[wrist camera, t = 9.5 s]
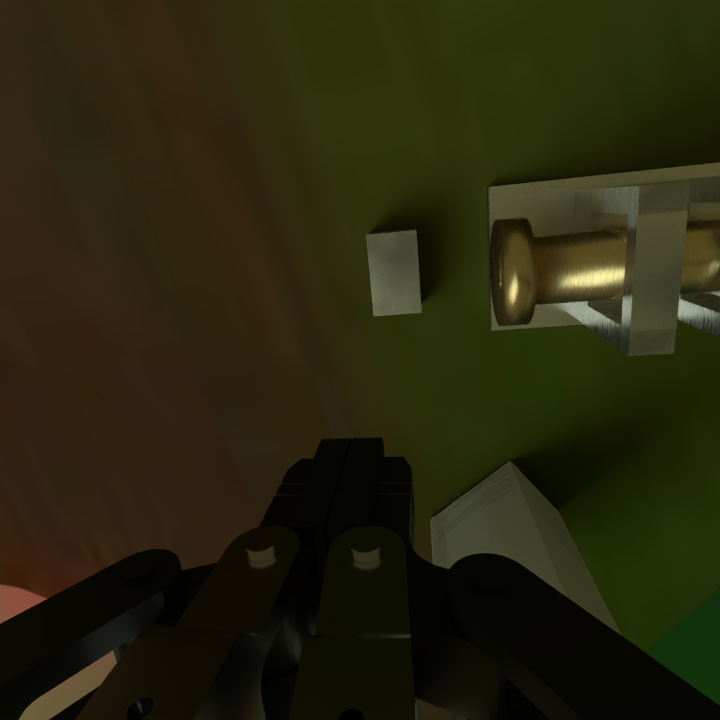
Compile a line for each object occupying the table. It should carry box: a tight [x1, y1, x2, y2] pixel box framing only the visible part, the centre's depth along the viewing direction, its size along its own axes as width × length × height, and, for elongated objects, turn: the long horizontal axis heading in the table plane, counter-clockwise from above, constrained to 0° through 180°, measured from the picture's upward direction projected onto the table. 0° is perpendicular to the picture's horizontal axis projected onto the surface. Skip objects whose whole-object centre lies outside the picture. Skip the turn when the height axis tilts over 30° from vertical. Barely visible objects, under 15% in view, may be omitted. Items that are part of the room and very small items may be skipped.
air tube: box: [490, 217, 720, 326], centre depth 25 cm, size 19×6×6 cm, turn 96°
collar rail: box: [366, 162, 720, 356], centre depth 25 cm, size 24×10×12 cm, turn 96°
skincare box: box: [430, 461, 622, 636], centre depth 30 cm, size 8×6×15 cm
